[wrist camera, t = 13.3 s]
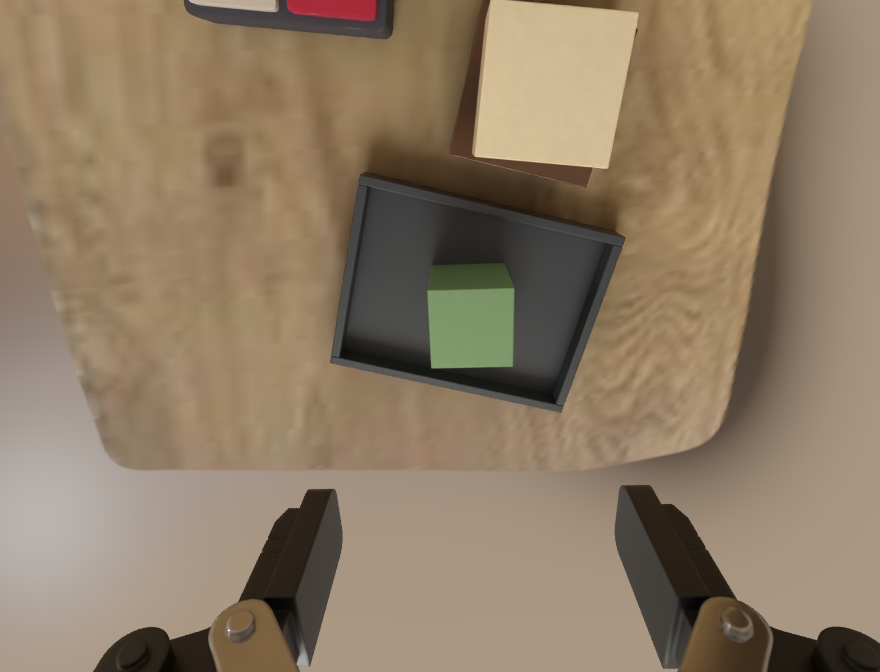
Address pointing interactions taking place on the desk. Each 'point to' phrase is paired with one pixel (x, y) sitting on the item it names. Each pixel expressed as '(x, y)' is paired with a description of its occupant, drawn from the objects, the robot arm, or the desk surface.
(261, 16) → the calculator
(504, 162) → the walnut block
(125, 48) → the desk surface
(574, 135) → the cream block
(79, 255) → the desk surface
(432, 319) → the green block
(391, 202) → the tray
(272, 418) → the desk surface
